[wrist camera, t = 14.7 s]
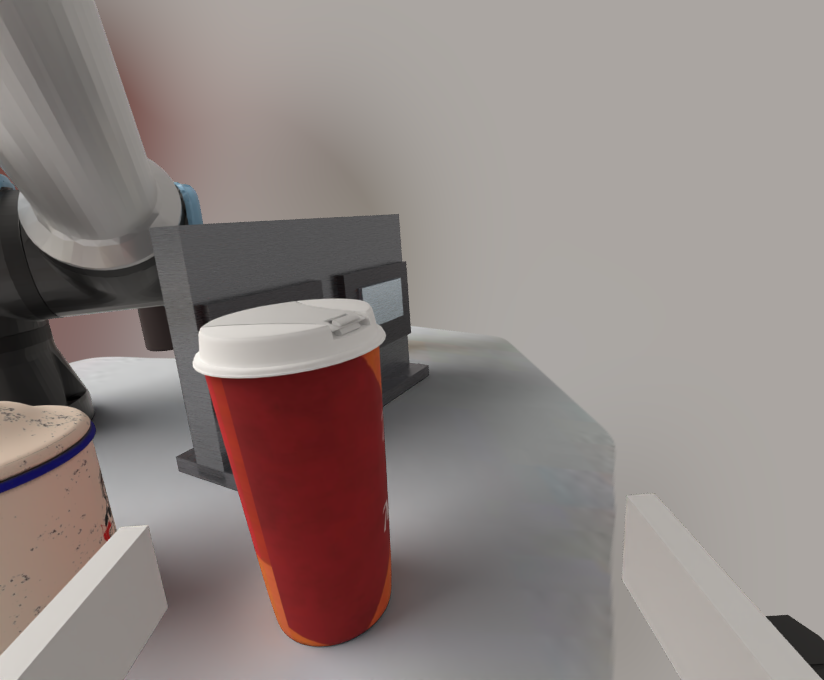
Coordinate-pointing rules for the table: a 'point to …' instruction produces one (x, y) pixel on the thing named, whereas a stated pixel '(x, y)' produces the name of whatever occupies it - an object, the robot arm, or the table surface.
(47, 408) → the teacup with lid
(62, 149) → the robot arm
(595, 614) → the table surface
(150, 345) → the bottle
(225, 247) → the panel
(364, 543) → the paper cup
